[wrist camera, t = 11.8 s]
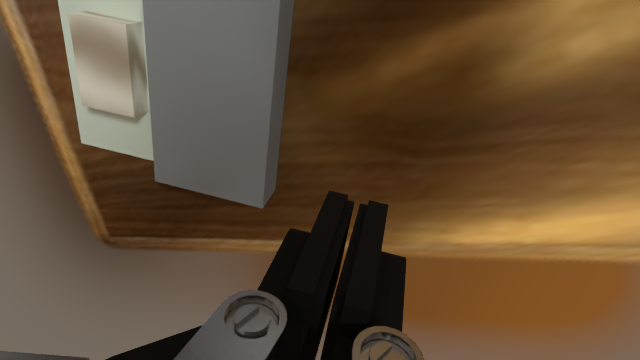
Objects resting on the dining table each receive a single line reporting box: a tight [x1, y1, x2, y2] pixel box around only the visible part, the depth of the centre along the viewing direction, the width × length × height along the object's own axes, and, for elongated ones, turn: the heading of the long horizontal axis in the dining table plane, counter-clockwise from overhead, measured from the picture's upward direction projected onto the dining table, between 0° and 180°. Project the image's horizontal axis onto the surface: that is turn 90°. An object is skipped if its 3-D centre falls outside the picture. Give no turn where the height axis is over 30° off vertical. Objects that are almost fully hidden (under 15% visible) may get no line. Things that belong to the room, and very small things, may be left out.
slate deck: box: [142, 0, 294, 209], centre depth 37 cm, size 22×12×4 cm, turn 172°
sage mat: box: [58, 0, 154, 161], centre depth 41 cm, size 22×12×1 cm, turn 172°
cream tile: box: [68, 11, 149, 118], centre depth 40 cm, size 9×6×2 cm, turn 172°
